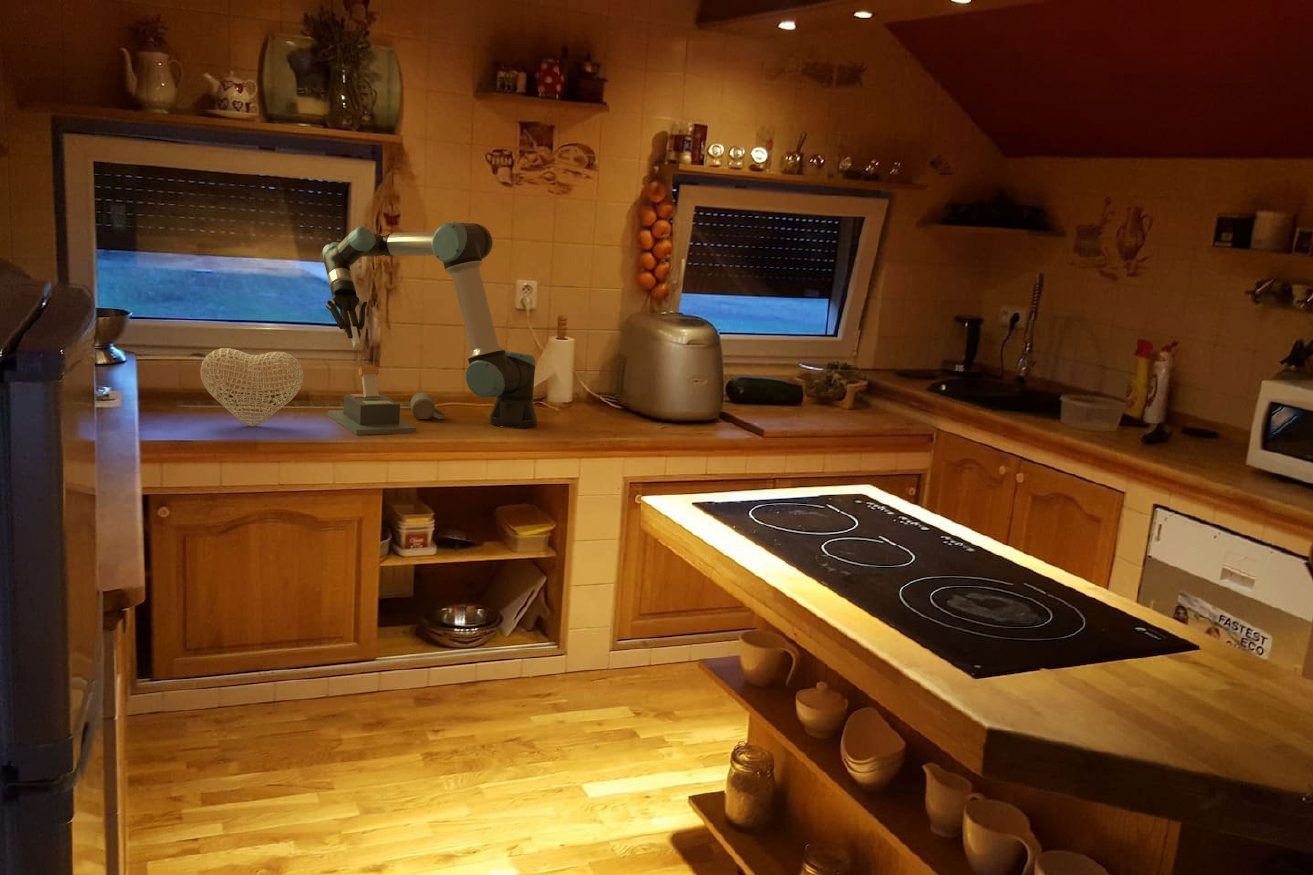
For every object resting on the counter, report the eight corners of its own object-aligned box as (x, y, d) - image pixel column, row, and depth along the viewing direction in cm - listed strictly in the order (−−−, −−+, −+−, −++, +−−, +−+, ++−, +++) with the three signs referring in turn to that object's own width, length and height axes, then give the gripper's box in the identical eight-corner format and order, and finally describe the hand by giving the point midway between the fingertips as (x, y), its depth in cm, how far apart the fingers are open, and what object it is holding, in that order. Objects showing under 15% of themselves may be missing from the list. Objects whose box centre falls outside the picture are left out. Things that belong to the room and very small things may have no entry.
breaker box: (327, 415, 339) (328, 390, 337) (384, 413, 349) (384, 389, 347) (356, 435, 316) (357, 408, 314) (415, 432, 326) (416, 406, 324)
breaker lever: (361, 398, 331) (358, 369, 332) (378, 398, 333) (375, 369, 335) (364, 396, 328) (361, 367, 330) (381, 395, 331) (378, 367, 332)
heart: (193, 429, 306) (193, 350, 301) (209, 418, 321) (209, 343, 316) (296, 435, 309) (297, 357, 305) (307, 424, 324) (308, 350, 320)
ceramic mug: (411, 420, 342) (412, 396, 340) (409, 415, 349) (411, 391, 348) (445, 422, 345) (446, 398, 343) (443, 416, 352) (444, 393, 351)
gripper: (359, 294, 355) (374, 353, 345) (319, 292, 348) (333, 353, 338) (365, 279, 350) (380, 339, 340) (324, 277, 343) (338, 338, 333)
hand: (356, 345), depth 339 cm, fingers closed
